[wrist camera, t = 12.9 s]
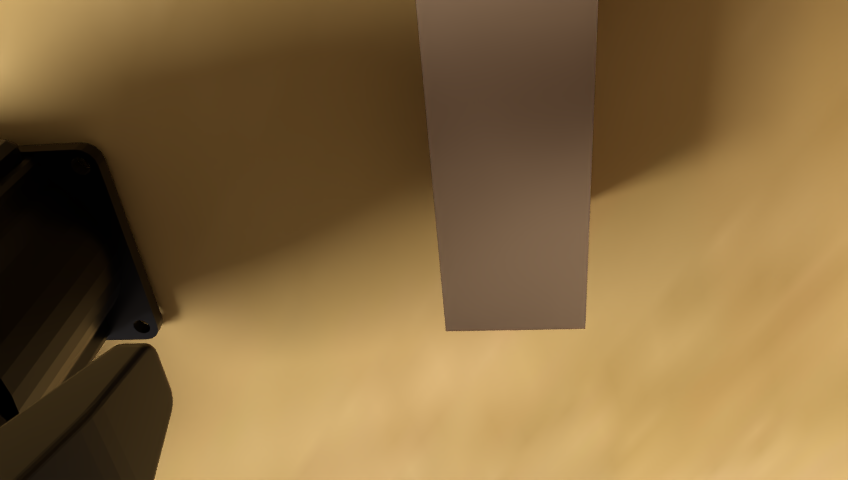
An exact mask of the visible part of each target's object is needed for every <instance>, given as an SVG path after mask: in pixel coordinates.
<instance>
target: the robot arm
mask: <svg viewBox="0 0 848 480" xmlns="http://www.w3.org/2000/svg"><path fill="white" fill-rule="evenodd" d="M78 158H82V159H84V160H85V161H87V162H88V164H89V165H90V168H88V167H85V166H83V165H82V164H81V163H80V162H79V160H78ZM140 320H141V321H145V322H146V323H148V325H147V324H144V323H142V322H141V321H140ZM162 324H163V320H162V316H161V313H160V310H159V307H158V305H157V302H156V299H155V296H154V294H153V291H152V288H151V285H150V282H149V280H148V277H147V274H146V271H145V269H144V266H143V263H142V260H141V257H140V255H139V252H138V249H137V246H136V243H135V241H134V238H133V235H132V232H131V230H130V227H129V224H128V221H127V218H126V216H125V213H124V210H123V207H122V204H121V202H120V199H119V196H118V193H117V191H116V188H115V185H114V182H113V179H112V177H111V174H110V171H109V168H108V165H107V163H106V160H105V158H104V156H103V154H102V152H101V151H99V150H98V149H97V148H96V147H95V146H92V145H90V144H88V143H64V144H44V145H24V146H18V145H17V144H16V143H13V142H11V141H8V140H4V139H3V140H0V480H154V478H155V474H156V470H157V467H158V463H159V459H160V455H161V451H162V447H163V443H164V439H165V435H166V432H167V428H168V424H169V420H170V416H171V412H172V405H173V397H172V391H171V388H170V385H169V383H168V380H167V377H166V375H165V372H164V369H163V367H162V364H161V361H160V359H159V356H158V354H157V352H156V350H155V348H154V347H153V346H152V345H150V344H146V343H137V344H119V345H116V346H115V347H113V348H111V349H110V350H109V351H107V352H106V353H104V354H103V355H101V356H100V357H99V358H97V359H96V360H94V361H93V362H92V360H93V359H94V357H95V356H96V354H97V353H98V351H99V350H100V348H101V346H102V345H103V343H104V342H105V340H133V339H151V338H153V337H155V336H156V335H157V333H158V331H159V330H160V328H161V326H162ZM91 362H92V363H91Z"/></svg>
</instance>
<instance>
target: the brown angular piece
mask: <svg viewBox="0 0 848 480" xmlns="http://www.w3.org/2000/svg"><path fill="white" fill-rule="evenodd" d="M416 10H417V21H418V32H419V43H420V53H421V64H422V75H423V86H424V97H425V108H426V119H427V130H428V141H429V151H430V162H431V173H432V184H433V195H434V206H435V217H436V228H437V239H438V250H439V260H440V271H441V282H442V293H443V304H444V315H445V326H446V331H486V330H543V329H585V321H586V296H587V271H588V246H589V221H590V196H591V171H592V146H593V121H594V97H595V72H596V47H597V22H598V0H416Z"/></svg>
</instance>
